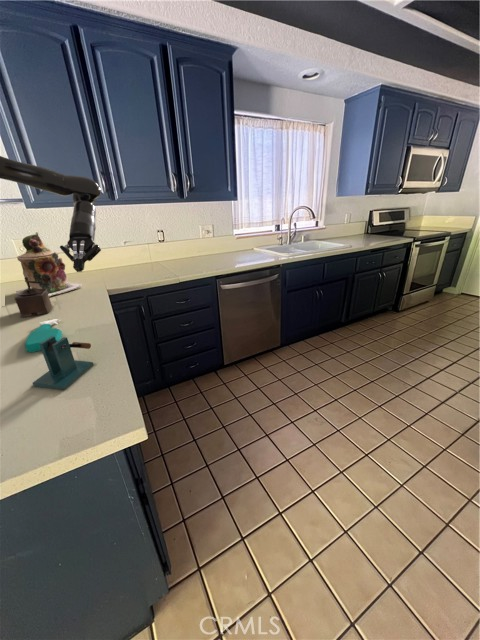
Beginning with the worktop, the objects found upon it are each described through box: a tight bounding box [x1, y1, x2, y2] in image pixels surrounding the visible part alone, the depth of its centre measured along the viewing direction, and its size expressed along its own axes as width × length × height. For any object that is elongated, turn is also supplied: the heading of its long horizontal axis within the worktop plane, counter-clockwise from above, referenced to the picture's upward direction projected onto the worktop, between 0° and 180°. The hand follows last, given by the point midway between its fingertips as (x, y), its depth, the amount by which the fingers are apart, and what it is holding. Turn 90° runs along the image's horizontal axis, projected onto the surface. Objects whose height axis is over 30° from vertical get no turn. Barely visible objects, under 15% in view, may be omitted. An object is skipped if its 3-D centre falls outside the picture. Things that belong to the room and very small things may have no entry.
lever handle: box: [47, 341, 92, 351], centre depth 79 cm, size 12×6×2 cm, turn 172°
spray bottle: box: [24, 318, 63, 353], centre depth 101 cm, size 3×11×24 cm
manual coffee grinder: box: [14, 274, 53, 318], centre depth 121 cm, size 16×11×18 cm
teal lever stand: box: [32, 336, 94, 391], centre depth 76 cm, size 12×10×12 cm
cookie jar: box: [15, 231, 83, 298], centre depth 145 cm, size 25×25×32 cm
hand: (78, 270), depth 88 cm, fingers closed
